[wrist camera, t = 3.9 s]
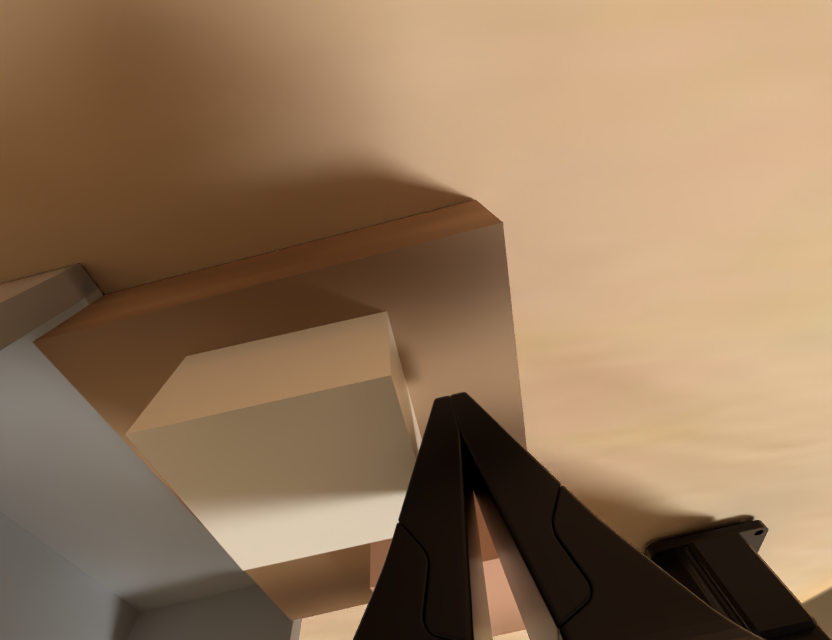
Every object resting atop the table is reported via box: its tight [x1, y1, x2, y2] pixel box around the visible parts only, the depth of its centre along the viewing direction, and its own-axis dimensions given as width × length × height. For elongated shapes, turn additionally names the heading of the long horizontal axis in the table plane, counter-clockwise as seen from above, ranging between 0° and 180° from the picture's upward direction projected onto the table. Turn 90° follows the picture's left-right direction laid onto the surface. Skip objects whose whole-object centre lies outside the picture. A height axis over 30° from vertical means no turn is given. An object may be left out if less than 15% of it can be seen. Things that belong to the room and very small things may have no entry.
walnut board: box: [33, 200, 527, 621], centre depth 13 cm, size 15×11×2 cm
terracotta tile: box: [370, 491, 526, 637], centre depth 12 cm, size 5×5×2 cm
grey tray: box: [0, 263, 302, 640], centre depth 13 cm, size 17×9×4 cm, turn 13°
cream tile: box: [125, 311, 422, 571], centre depth 9 cm, size 5×5×2 cm
